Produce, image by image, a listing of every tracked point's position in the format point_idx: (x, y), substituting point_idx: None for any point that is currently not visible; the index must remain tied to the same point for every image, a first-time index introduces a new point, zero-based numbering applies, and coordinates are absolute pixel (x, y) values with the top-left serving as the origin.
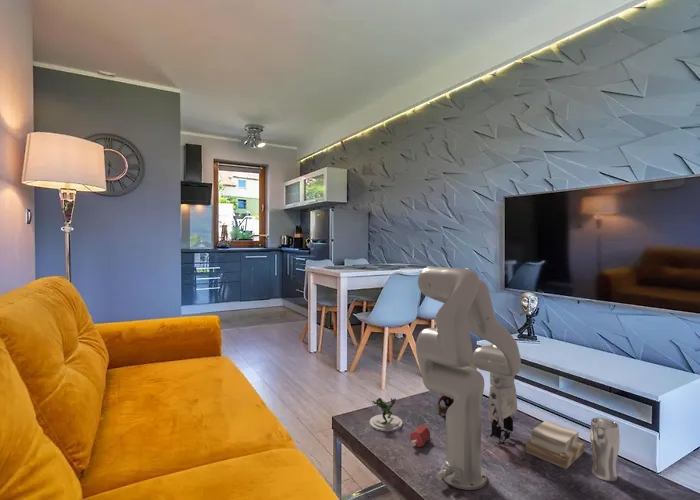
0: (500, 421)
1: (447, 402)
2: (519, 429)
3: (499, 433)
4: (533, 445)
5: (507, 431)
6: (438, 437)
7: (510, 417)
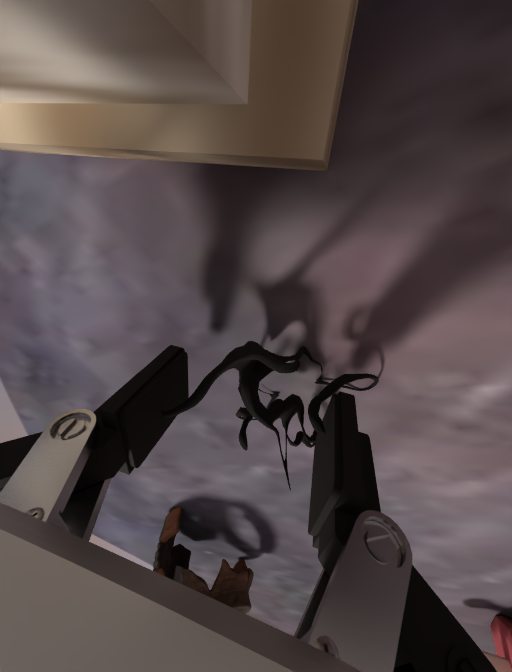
0: (339, 577)
1: (180, 570)
2: (89, 317)
3: (356, 432)
4: (302, 33)
5: (220, 374)
6: (442, 580)
7: (94, 442)
